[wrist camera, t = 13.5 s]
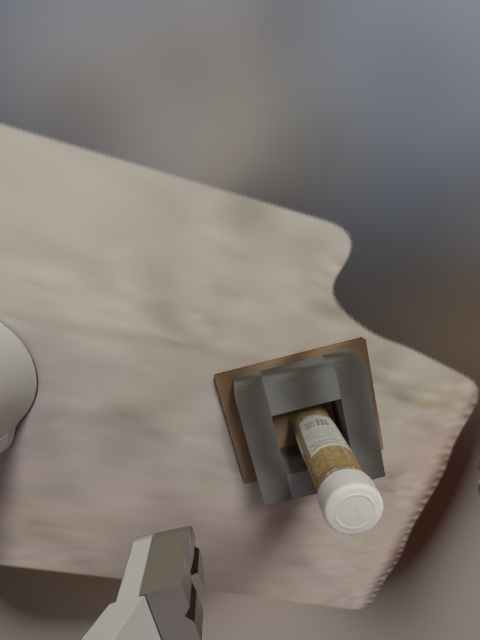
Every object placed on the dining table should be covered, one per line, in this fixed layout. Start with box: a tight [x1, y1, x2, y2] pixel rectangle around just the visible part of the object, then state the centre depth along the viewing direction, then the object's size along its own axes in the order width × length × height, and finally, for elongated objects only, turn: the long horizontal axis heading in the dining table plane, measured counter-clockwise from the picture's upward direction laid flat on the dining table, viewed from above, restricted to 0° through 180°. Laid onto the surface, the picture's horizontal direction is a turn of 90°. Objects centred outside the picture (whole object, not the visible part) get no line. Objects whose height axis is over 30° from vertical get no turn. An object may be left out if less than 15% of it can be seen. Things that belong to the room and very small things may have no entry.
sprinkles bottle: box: [289, 404, 383, 535], centre depth 30 cm, size 5×5×13 cm
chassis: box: [214, 337, 385, 506], centre depth 34 cm, size 17×14×6 cm
